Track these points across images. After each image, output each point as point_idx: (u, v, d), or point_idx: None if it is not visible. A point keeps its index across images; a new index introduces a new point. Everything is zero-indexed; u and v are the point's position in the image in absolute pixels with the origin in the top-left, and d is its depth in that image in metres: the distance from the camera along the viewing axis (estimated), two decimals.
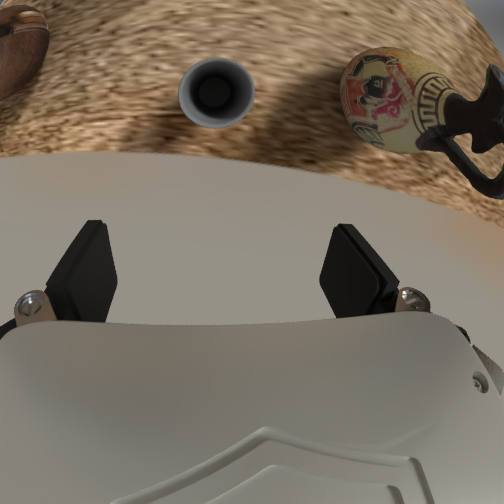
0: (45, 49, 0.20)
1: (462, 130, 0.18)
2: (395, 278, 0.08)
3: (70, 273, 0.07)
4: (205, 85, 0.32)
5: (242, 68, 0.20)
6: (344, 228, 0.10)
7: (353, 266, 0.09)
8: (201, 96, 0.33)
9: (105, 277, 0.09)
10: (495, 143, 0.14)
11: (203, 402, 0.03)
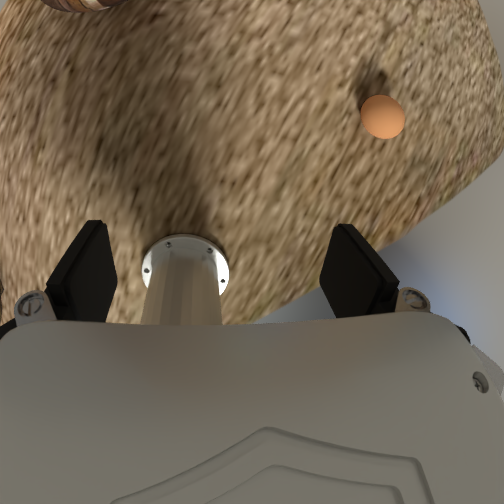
0: None
1: None
2: (395, 279, 0.08)
3: (70, 273, 0.07)
4: None
5: None
6: (344, 228, 0.10)
7: (353, 266, 0.09)
8: None
9: (105, 277, 0.09)
10: None
11: (203, 402, 0.03)
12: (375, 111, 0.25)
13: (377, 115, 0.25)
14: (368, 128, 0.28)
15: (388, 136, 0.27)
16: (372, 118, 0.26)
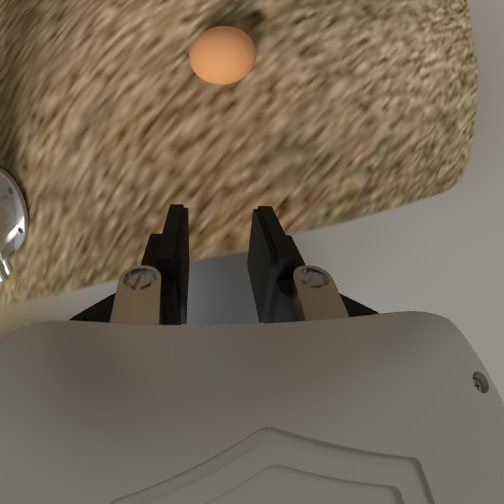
0: None
1: None
2: (292, 255, 0.08)
3: (176, 249, 0.08)
4: None
5: None
6: (260, 210, 0.11)
7: (260, 245, 0.10)
8: None
9: (187, 258, 0.11)
10: None
11: (203, 402, 0.03)
12: (199, 39, 0.16)
13: (199, 43, 0.16)
14: (191, 65, 0.18)
15: (213, 76, 0.18)
16: (193, 49, 0.17)
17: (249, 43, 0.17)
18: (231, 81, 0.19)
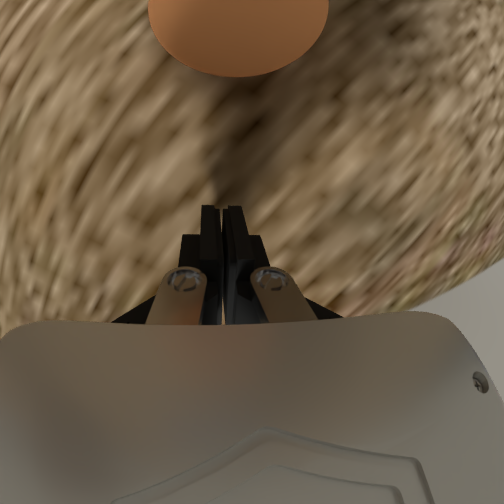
0: None
1: None
2: (251, 256, 0.08)
3: (218, 250, 0.08)
4: None
5: None
6: (229, 209, 0.11)
7: (225, 246, 0.09)
8: None
9: None
10: None
11: (203, 402, 0.03)
12: None
13: None
14: (153, 30, 0.06)
15: (213, 50, 0.05)
16: None
17: None
18: (264, 69, 0.07)
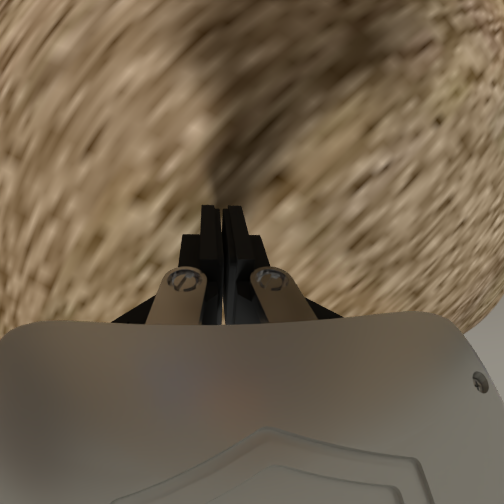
0: None
1: None
2: (251, 256, 0.08)
3: (218, 250, 0.08)
4: None
5: None
6: (229, 210, 0.11)
7: (225, 246, 0.09)
8: None
9: None
10: None
11: (203, 402, 0.03)
12: None
13: None
14: None
15: None
16: None
17: None
18: None
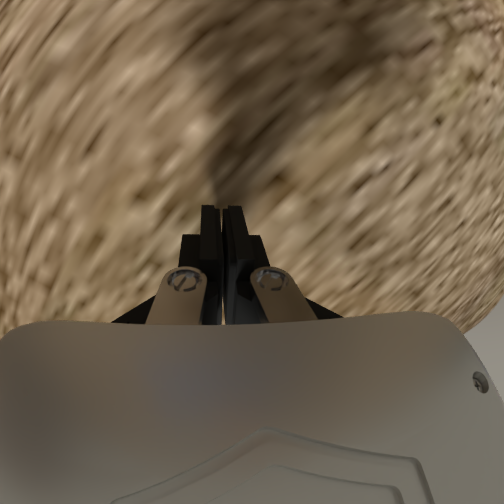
0: None
1: None
2: (251, 256, 0.08)
3: (218, 250, 0.08)
4: None
5: None
6: (229, 210, 0.11)
7: (225, 246, 0.09)
8: None
9: None
10: None
11: (203, 402, 0.03)
12: None
13: None
14: None
15: None
16: None
17: None
18: None
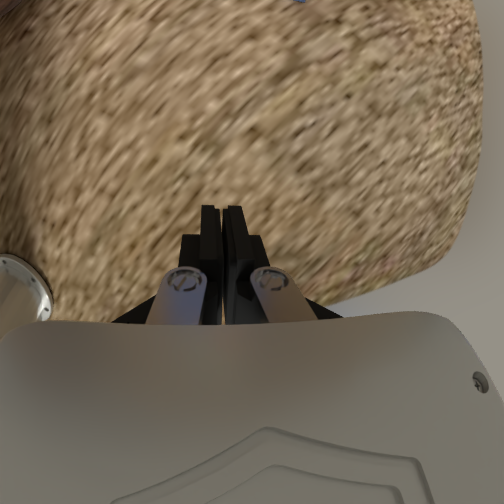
0: None
1: None
2: (251, 256, 0.08)
3: (218, 250, 0.08)
4: None
5: None
6: (229, 209, 0.11)
7: (225, 246, 0.09)
8: None
9: None
10: None
11: (203, 402, 0.03)
12: None
13: None
14: None
15: None
16: None
17: None
18: None
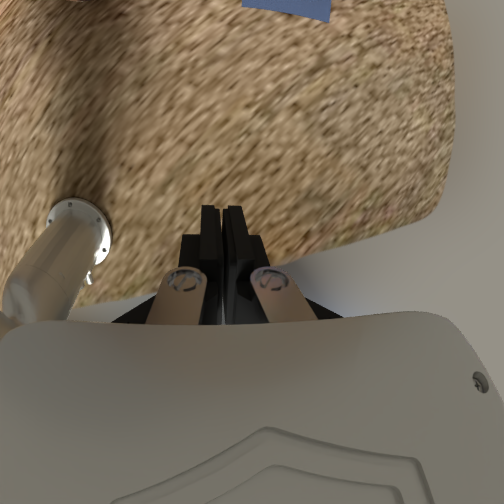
0: None
1: None
2: (251, 256, 0.08)
3: (218, 250, 0.08)
4: None
5: None
6: (229, 210, 0.11)
7: (225, 246, 0.09)
8: None
9: None
10: None
11: (203, 402, 0.03)
12: None
13: None
14: None
15: None
16: None
17: None
18: None
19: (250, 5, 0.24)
